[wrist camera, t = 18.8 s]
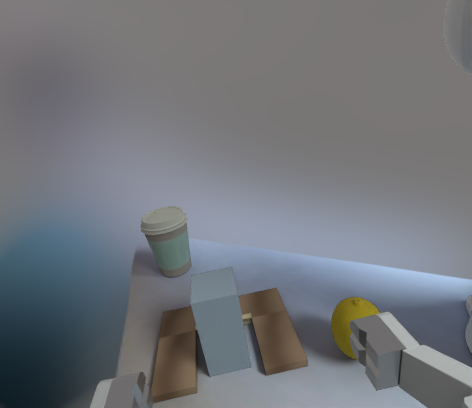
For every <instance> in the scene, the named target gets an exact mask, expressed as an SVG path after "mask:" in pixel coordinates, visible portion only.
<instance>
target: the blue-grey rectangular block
mask: <svg viewBox="0 0 472 408" xmlns="http://www.w3.org/2000/svg"><path fill="white" fill-rule="evenodd" d="M191 307H192V311H193V315H194V319H195V322H196V326H197V330H198V334H199V338H200V341H201V345H202V349H203V353H204V357H205V360H206V364H207V368H208V372H209V375H210V377H212V376H216V375H220V374H224V373H229V372H233V371H237V370H241V369H245V368H250V367H251V363H250V358H249V352H248V347H247V341H246V336H245V330H244V324H243V319H242V313H241V308H240V302H239V297H238V291H237V287H236V282H235V278H234V273H233V269H232V267H229V268H224V269H219V270H214V271H210V272H205V273H200V274H195V275H191Z"/></svg>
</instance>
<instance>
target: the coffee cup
mask: <svg viewBox="0 0 472 408" xmlns="http://www.w3.org/2000/svg"><path fill="white" fill-rule="evenodd" d="M186 221H187V217H186V214H185V213H184V212H183V210H182V209H181V208H180V207H176V206H170V207H163V208H159V209H156V210H153V211H151V212H149V213H147V214H145V215H144V216H143V217H142V224H141V231H142V232H143V233H144V234H145V236H146V238H147V240H148V243H149V245H150V247H151V249H152V251H153V254H154V256H155V258H156V260H157V263H158V265H159V267H160V269H161V271H162V274H163V275H164V276H166V277H177V276H180V275H182V274H184V273H186V272H187V271H188V270H189V269H190V267H191V259H190V250H189V241H188V234H187V233H188V232H187V224H186Z"/></svg>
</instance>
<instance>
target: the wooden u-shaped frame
mask: <svg viewBox="0 0 472 408" xmlns="http://www.w3.org/2000/svg"><path fill="white" fill-rule="evenodd" d="M238 297H239V302H240V308H241V313H242V319H243V324H244V325H247V324H251V323H253V326H254V330H255V334H256V338H257V342H258V346H259V350H260V354H261V357H262V361H263V365H264V369H265V373H266V376H267V375H272V374H276V373H280V372H284V371H288V370H292V369H296V368H301V367H305V366H308V359H307V357H306V355H305V352H304V350H303V348H302V346H301V343H300V341H299V339H298V336H297V334H296V332H295V329H294V327H293V325H292V323H291V320H290V318H289V316H288V313H287V311H286V309H285V306H284V304H283V302H282V299H281V297H280V295H279V293H278V290H277V288H273V289H268V290H264V291H259V292H254V293H250V294H245V295H241V296H238ZM198 335H199V334H198V330H197V326H196V322H195V319H194V315H193V311H192V307H191V306H190V307H185V308H181V309H176V310H171V311H167V312H163V318H162V324H161V331H160V337H159V344H158V350H157V357H156V363H155V370H154V376H153V383H152V389H151V391H152V396H153V403H155V402H160V401H164V400H168V399H172V398H176V397H180V396H184V395H189V394H193V393H197V336H198Z"/></svg>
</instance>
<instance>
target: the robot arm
mask: <svg viewBox="0 0 472 408" xmlns="http://www.w3.org/2000/svg"><path fill="white" fill-rule="evenodd" d="M443 30H444V40H445V44H446V47H447V50H448V52H449V54H450V56H451V57H452V59H453V60H454V62H455V63H456V64H457V65H458V66H459V67H460V68H462V69H463V70H464V71H465V72H467V73H469V74H471V75H472V0H448V3H447V6H446V10H445V15H444V24H443ZM466 308H467V311H468V313H469V316H470V317H469V321H468V324H467V326H466V329H465V338H466V342H467V345H468V347H469V349H470V351H471V353H472V295H471V296H469V297H468V299H467V301H466ZM350 329H351V330H352V332H353V333H352V334H351V335H350V344H351V347H352V350H353V353H354V355H355V357H356V358H357V360H358V362H359V363H361V364H363V365H364V366H366V375H367V376H368V378H369V379H370V381H371V383H372V384H373V386H374V387H375V389H376V391H377V390H381V389H386V388H390V387H394V386H399V387H400V388H401V389H403V390H404V391H405V392H407V393H408V394H410V395H411V396H412V397H414V398H415V399H416V400H418V401H419V402H421V403H422V404H423V405H425V406H426V407H427V408H472V368H471V367H469V366H467V365H465V364H463V363H461V362H459V361H457V360H455V359H453V358H451V357H449V356H446V355H444V354H442V353H440V352H438V351H436V350H434V349H432V348H430V347H428V346H426V345H419V343H418V342H417V341H416V340H415V339H414V338H413V337H412V336H411V335H410V334H409V333H408V331H407V330H406V329H405V328H404V327H403V326H402V325H401V324H400V323H399V322H398V321H397V319H396V318H395V317H394V316H393V315H392V314H391V313H389V312H384V313H380V314H376V315H371V316H367V317H363V318H359V319H355V320H351V322H350ZM145 380H146V377H145V375H144V373H143V372H139V373H135V374H130V375H125V376H121V377H116V378H112V379H107V380H103V381H100V383H99V384H98V386H97V388H96V391H95V394H94V397H93V399H92V402H91V405H90V408H153V396H152V391H151V388H150V386H149V385H147V384H145Z"/></svg>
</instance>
